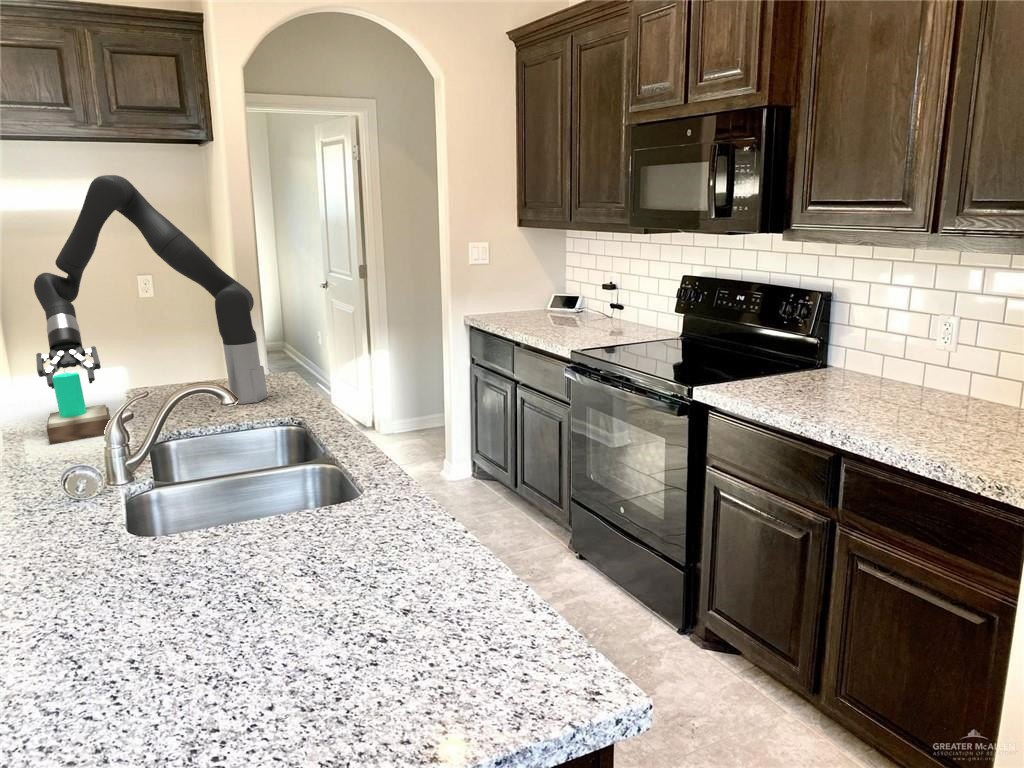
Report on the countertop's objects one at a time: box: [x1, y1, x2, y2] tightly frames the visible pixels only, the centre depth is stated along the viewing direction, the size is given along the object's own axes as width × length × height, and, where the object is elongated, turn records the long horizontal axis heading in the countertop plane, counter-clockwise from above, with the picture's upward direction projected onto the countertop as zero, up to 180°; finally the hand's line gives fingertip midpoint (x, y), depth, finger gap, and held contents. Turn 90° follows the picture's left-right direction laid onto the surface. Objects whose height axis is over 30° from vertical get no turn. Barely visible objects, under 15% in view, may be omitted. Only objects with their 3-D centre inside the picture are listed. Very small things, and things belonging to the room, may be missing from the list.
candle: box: [52, 368, 87, 418], centre depth 194 cm, size 6×6×12 cm
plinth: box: [46, 404, 111, 445], centre depth 196 cm, size 14×14×5 cm
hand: (72, 384), depth 194 cm, fingers open, 8 cm apart
